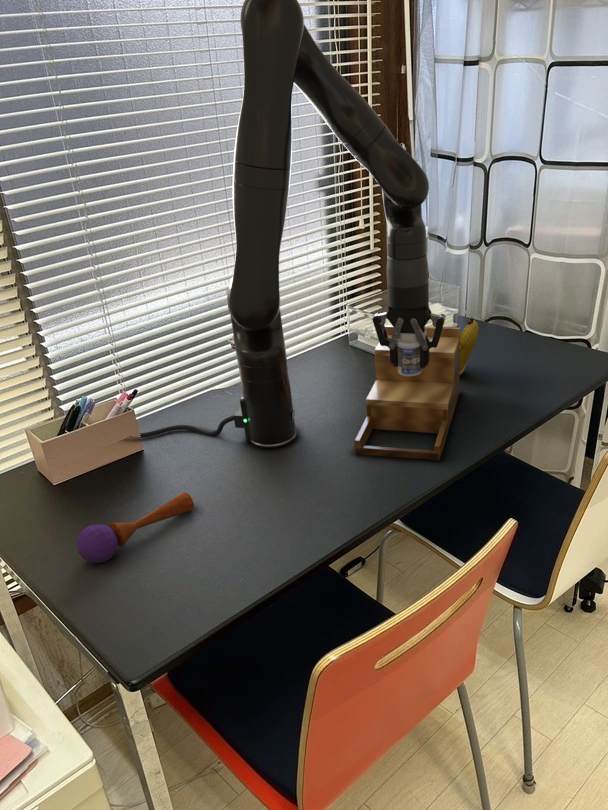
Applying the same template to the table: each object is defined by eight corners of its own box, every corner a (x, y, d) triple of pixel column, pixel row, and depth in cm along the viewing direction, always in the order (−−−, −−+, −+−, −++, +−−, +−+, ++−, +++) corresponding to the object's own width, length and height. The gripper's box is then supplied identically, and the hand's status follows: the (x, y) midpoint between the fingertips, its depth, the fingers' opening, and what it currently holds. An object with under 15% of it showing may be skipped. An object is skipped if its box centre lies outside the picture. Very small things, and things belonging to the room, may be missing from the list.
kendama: (198, 496, 118) (88, 548, 105) (198, 523, 121) (92, 576, 108) (177, 478, 121) (67, 527, 108) (177, 505, 124) (71, 555, 111)
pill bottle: (402, 378, 136) (401, 337, 131) (394, 369, 140) (393, 329, 135) (425, 374, 137) (425, 333, 132) (417, 365, 141) (416, 325, 136)
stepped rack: (355, 454, 134) (350, 382, 126) (386, 389, 156) (383, 325, 148) (439, 460, 130) (439, 386, 122) (459, 393, 152) (460, 327, 144)
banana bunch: (486, 377, 158) (489, 312, 150) (461, 388, 154) (462, 323, 146) (449, 363, 166) (449, 301, 158) (424, 373, 162) (423, 310, 154)
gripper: (364, 285, 127) (369, 372, 136) (444, 286, 124) (444, 375, 133) (374, 273, 133) (378, 356, 142) (449, 273, 130) (449, 359, 139)
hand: (410, 365), depth 137 cm, fingers closed on pill bottle, 4 cm apart
